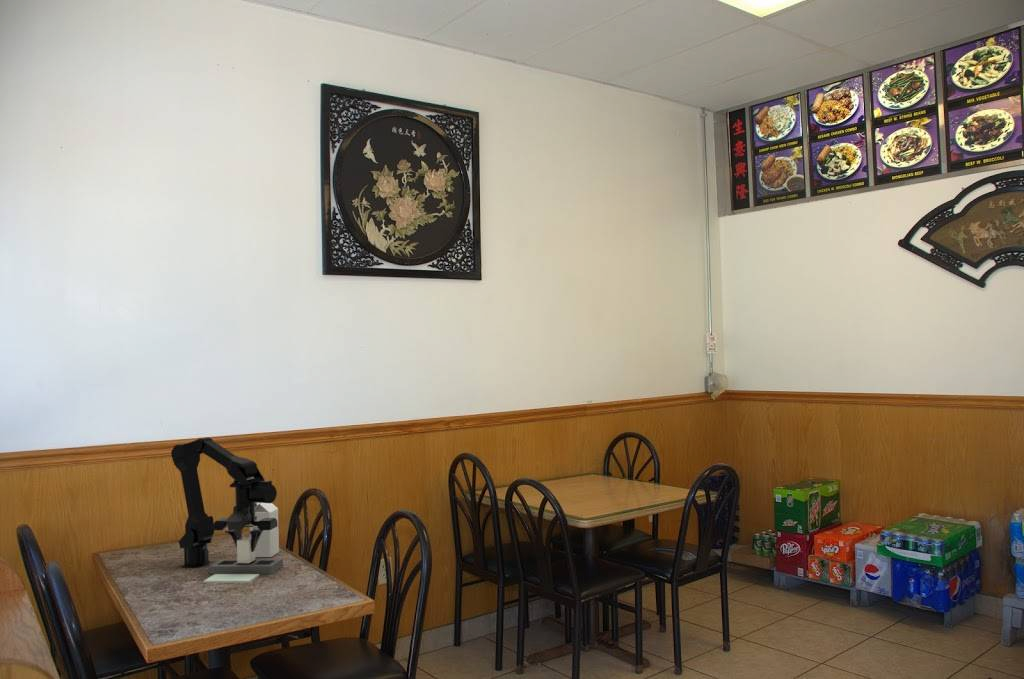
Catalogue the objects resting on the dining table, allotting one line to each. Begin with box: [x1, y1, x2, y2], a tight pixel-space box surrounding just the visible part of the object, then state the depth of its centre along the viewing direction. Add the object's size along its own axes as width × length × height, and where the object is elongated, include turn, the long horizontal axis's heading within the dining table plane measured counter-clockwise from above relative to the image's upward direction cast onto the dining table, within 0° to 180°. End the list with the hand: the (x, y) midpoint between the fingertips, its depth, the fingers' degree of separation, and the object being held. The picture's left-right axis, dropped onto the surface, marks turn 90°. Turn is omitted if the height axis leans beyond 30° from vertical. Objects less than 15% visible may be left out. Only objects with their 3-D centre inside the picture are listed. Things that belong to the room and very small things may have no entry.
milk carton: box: [249, 502, 280, 558], centre depth 261 cm, size 7×7×19 cm
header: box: [208, 558, 284, 575], centre depth 242 cm, size 20×9×2 cm, turn 85°
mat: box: [203, 574, 260, 584], centre depth 232 cm, size 14×7×1 cm, turn 84°
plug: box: [236, 537, 256, 563], centre depth 243 cm, size 4×4×7 cm
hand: (246, 551), depth 243 cm, fingers closed on plug, 4 cm apart
